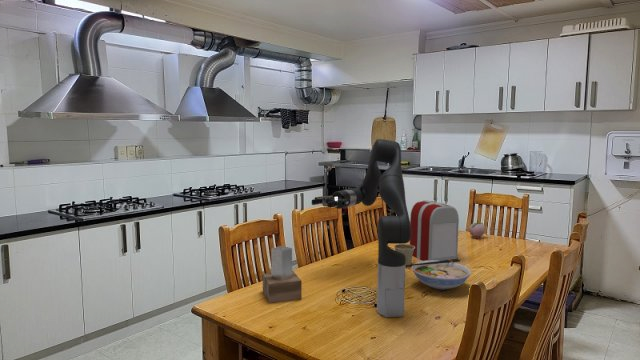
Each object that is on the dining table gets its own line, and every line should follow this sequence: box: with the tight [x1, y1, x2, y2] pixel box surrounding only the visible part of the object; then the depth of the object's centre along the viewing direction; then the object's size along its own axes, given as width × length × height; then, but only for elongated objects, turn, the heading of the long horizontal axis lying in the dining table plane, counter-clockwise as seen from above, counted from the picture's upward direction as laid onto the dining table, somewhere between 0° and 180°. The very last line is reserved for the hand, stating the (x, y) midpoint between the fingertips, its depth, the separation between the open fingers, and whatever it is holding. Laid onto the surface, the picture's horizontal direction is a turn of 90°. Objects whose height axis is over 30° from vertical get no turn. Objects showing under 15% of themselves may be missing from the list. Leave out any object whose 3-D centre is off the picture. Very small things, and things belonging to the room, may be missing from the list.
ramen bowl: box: [405, 258, 472, 291], centre depth 175 cm, size 25×23×8 cm
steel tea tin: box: [270, 245, 293, 280], centre depth 164 cm, size 5×5×11 cm
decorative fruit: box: [468, 220, 486, 239], centre depth 253 cm, size 9×8×10 cm
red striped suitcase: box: [409, 199, 460, 261], centre depth 214 cm, size 16×18×27 cm
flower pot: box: [393, 243, 415, 265], centre depth 202 cm, size 9×9×9 cm
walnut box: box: [262, 270, 303, 304], centre depth 165 cm, size 12×12×7 cm
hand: (320, 203), depth 178 cm, fingers open, 8 cm apart
